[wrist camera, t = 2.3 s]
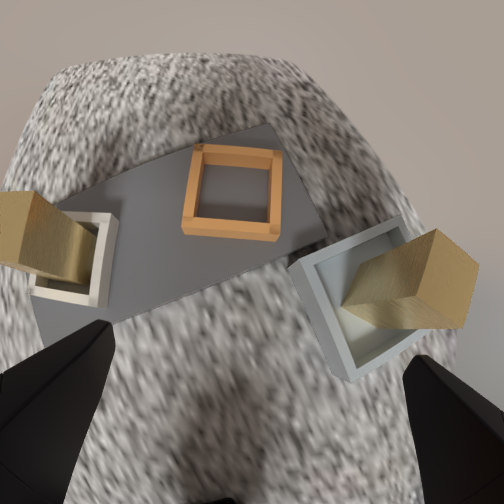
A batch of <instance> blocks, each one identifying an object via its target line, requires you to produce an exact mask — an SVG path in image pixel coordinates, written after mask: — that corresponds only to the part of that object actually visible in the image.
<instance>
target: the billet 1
mask: <svg viewBox="0 0 504 504" xmlns="http://www.w3.org/2000/svg"><path fill="white" fill-rule="evenodd" d="M96 243H97V237H96V236H95V235H93V234H92V233H91V232H89V231H88V230H86V229H85V228H83V227H82V226H81V225H79V224H78V223H77V222H75V221H74V220H72V219H71V218H70V217H68V216H67V215H66V214H64V213H63V212H61V211H60V210H59V209H57V208H56V207H55V206H53V205H52V204H51V203H50V202H48V201H47V200H46V199H44V198H43V197H42V196H40V195H39V194H38V193H37V192H35V191H12V192H0V264H1V265H4V266H7V267H11V268H14V269H17V270H20V271H23V272H27V273H30V274H33V275H37V276H40V277H44V278H47V279H51V280H54V281H60V282H66V283H73V284H79V285H86V286H90V284H91V276H92V268H93V261H94V255H95V249H96Z"/></svg>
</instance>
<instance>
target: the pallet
mask: <svg viewBox="0 0 504 504" xmlns="http://www.w3.org/2000/svg"><path fill="white" fill-rule="evenodd" d="M55 207H56V208H57V209H59V210H60V211H61V212H63V213H64V214H66V215H67V216H68V217H70V218H71V219H72V220H74V221H75V222H77V223H78V224H79V225H81V226H82V227H83V228H85V229H86V230H88V231H89V232H91V233H92V234H93V235H95V236H96V237H97V243H96V249H95V255H94V261H93V268H92V276H91V284H90V286H86V285H79V284H73V283H66V282H60V281H54V280H51V279H47V278H44V277H40V276H37V275H33V274H30V273H27V272H26V277H27V282H28V293H27V294H29V295H30V297H31V301H32V305H33V310H34V313H35V317H36V321H37V325H38V328H39V332H40V335H41V338H42V342H43V345H44V348H46V347H48V346H50V345H52V344H53V343H55V342H57V341H59V340H61V339H62V338H64V337H66V336H68V335H70V334H71V333H73V332H75V331H77V330H79V329H80V328H82V327H84V326H86V325H88V324H89V323H91V322H93V321H95V320H97V319H101V320H105V321H109V322H111V323H112V325H113V324H116V323H118V322H121V321H124V320H126V319H129V318H131V317H134V316H137V315H139V314H142V313H144V312H147V311H150V310H152V309H155V308H157V307H160V306H162V305H165V304H167V303H170V302H173V301H175V300H178V299H180V298H183V297H185V296H188V295H190V294H193V293H195V292H198V291H200V290H203V289H206V288H208V287H211V286H213V285H216V284H218V283H221V282H223V281H226V280H228V279H230V278H233V277H235V276H238V275H240V274H243V273H245V272H248V271H250V270H253V269H255V268H258V267H260V266H263V265H265V264H267V263H270V262H272V261H275V260H277V259H280V258H282V257H284V256H287V255H289V254H292V253H294V252H297V251H299V250H301V249H304V248H306V247H309V246H311V245H313V244H316V243H318V242H321V241H323V240H324V239H325V238H327V237H328V236H329V235H328V233H327V231H326V229H325V227H324V225H323V223H322V221H321V219H320V217H319V215H318V213H317V211H316V209H315V206H314V204H313V202H312V200H311V199H310V197H309V195H308V193H307V191H306V189H305V187H304V185H303V183H302V181H301V179H300V177H299V175H298V173H297V171H296V170H295V168H294V166H293V164H292V162H291V160H290V158H289V157H288V155H287V153H286V151H285V149H284V147H283V146H282V144H281V142H280V140H279V138H278V137H277V135H276V133H275V131H274V130H273V128H272V126H271V124H270V123H268V124H264V125H260V126H256V127H252V128H249V129H245V130H242V131H238V132H235V133H231V134H228V135H225V136H221V137H218V138H215V139H212V140H209V141H205V142H202V143H199V144H196V143H195V144H194V145H193V146H191V147H188V148H185V149H182V150H179V151H176V152H174V153H171V154H168V155H165V156H163V157H160V158H158V159H155V160H152V161H150V162H147V163H145V164H142V165H140V166H137V167H135V168H133V169H130V170H128V171H125V172H123V173H121V174H119V175H116V176H114V177H112V178H110V179H107V180H105V181H103V182H101V183H99V184H96V185H94V186H92V187H90V188H88V189H86V190H84V191H82V192H80V193H78V194H76V195H74V196H72V197H70V198H68V199H66V200H64V201H62V202H60V203H58V204H56V205H55Z"/></svg>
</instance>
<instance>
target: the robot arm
mask: <svg viewBox="0 0 504 504" xmlns="http://www.w3.org/2000/svg"><path fill="white" fill-rule="evenodd" d="M115 347H116V345H115V338H114V332H113V326H112V323H111V322H109V321H105V320H101V319H97V320H95V321H93V322H91V323H89V324H88V325H86V326H84V327H82V328H80V329H79V330H77V331H75V332H73V333H71V334H70V335H68V336H66V337H64V338H62V339H61V340H59V341H57V342H55V343H53V344H52V345H50V346H48V347H46V348H45V349H43V350H41V351H39V352H38V353H36V354H34V355H32V356H30V357H29V358H27V359H25V360H23V361H22V362H20V363H18V364H16V365H15V366H13V367H11V368H9V369H8V370H6V371H4V372H3V373H1V374H0V504H63V503H64V499H65V496H66V492H67V489H68V486H69V483H70V480H71V477H72V473H73V470H74V467H75V465H76V462H77V459H78V456H79V453H80V450H81V447H82V445H83V442H84V439H85V437H86V434H87V431H88V429H89V426H90V423H91V421H92V418H93V416H94V413H95V411H96V408H97V406H98V403H99V401H100V398H101V396H102V392H103V389H104V386H105V382H106V379H107V375H108V372H109V369H110V365H111V362H112V359H113V356H114V352H115ZM403 385H404V391H405V397H406V404H407V411H408V417H409V422H410V427H411V431H412V436H413V440H414V445H415V449H416V454H417V459H418V465H419V470H420V476H421V482H422V488H423V495H424V502H425V504H504V412H503V411H501V410H500V409H499V408H497V407H496V406H495V405H494V404H492V403H491V402H490V401H488V400H487V399H486V398H484V397H483V396H482V395H480V394H479V393H478V392H476V391H475V390H474V389H472V388H471V387H470V386H468V385H467V384H466V383H464V382H462V380H460V379H459V378H458V377H456V376H455V375H453V374H452V373H451V372H449V371H448V370H447V369H445V368H444V367H443V366H441V365H440V364H439V363H437V362H436V361H434V360H433V359H432V358H430V357H429V356H427V355H416V356H414V357H413V359H412V360H411V362H410V363H409V365H408V367H407V368H406V370H405V371H404V374H403ZM227 502H231V503H227ZM204 504H237V503H236V502H235V500H234V499H232V498H225V499H221V500H218V501H214V502H210V503H209V502H208V503H204Z"/></svg>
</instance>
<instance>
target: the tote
mask: <svg viewBox="0 0 504 504" xmlns="http://www.w3.org/2000/svg"><path fill="white" fill-rule="evenodd" d="M411 240H412V238H411V236H410V233H409V231H408V229H407V227H406V225H405V223H404V221H403V218H402V216H401V214H400V215H398V216H396V217H393V218H391V219H389V220H387V221H385V222H382V223H380V224H378V225H376V226H373V227H371V228H369V229H367V230H364V231H362V232H360V233H357V234H355V235H353V236H351V237H348V238H346V239H344V240H341V241H339V242H337V243H335V244H332V245H330V246H328V247H325V248H323V249H321V250H318V251H316V252H314V253H311V254H309V255H307V256H304V257H302V258H300V259H298V260H297V261H296V262H294V263H293V264H292V265H291V266H289V267H288V268H287V269H288V271H289V273H290V276H291V278H292V280H293V282H294V285H295V287H296V289H297V292H298V294H299V296H300V299H301V301H302V303H303V305H304V308H305V310H306V312H307V315H308V317H309V320H310V322H311V324H312V327H313V329H314V331H315V334H316V336H317V338H318V341H319V343H320V346H321V348H322V350H323V353H324V355H325V358H326V360H327V362H328V365H329V367H330V370H331V372H332V374H333V375H335V376H337V377H339V378H341V379H343V380H345V381H347V382H349V383H353V382H355V381H356V380H358V379H360V378H361V377H363V376H365V375H366V374H368V373H370V372H371V371H373V370H374V369H376V368H378V367H379V366H381V365H382V364H384V363H385V362H387V361H389V360H390V359H392V358H393V357H395V356H396V355H398V354H399V353H401V352H402V351H403V350H405V349H406V348H408V347H409V346H411V345H412V344H413V343H415V342H416V341H418V340H419V339H420V338H422V337H423V336H424V335H426V334H427V333H428V332H430V331H431V330H432V329H378V328H377V327H375V326H373V325H371V324H370V323H368V322H366V321H364V320H363V319H361V318H359V317H357V316H356V315H354V314H352V313H350V312H349V311H347V310H345V309H343V308H342V307H341V305H342V303H343V301H344V298H345V296H346V294H347V292H348V290H349V288H350V286H351V283H352V281H353V279H354V277H355V275H356V272H357V270H358V268H359V266H360V263H363V262H365V261H367V260H370V259H372V258H374V257H376V256H379V255H381V254H383V253H385V252H387V251H390V250H392V249H394V248H396V247H398V246H400V245H403V244H405V243H407V242H409V241H411Z"/></svg>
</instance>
